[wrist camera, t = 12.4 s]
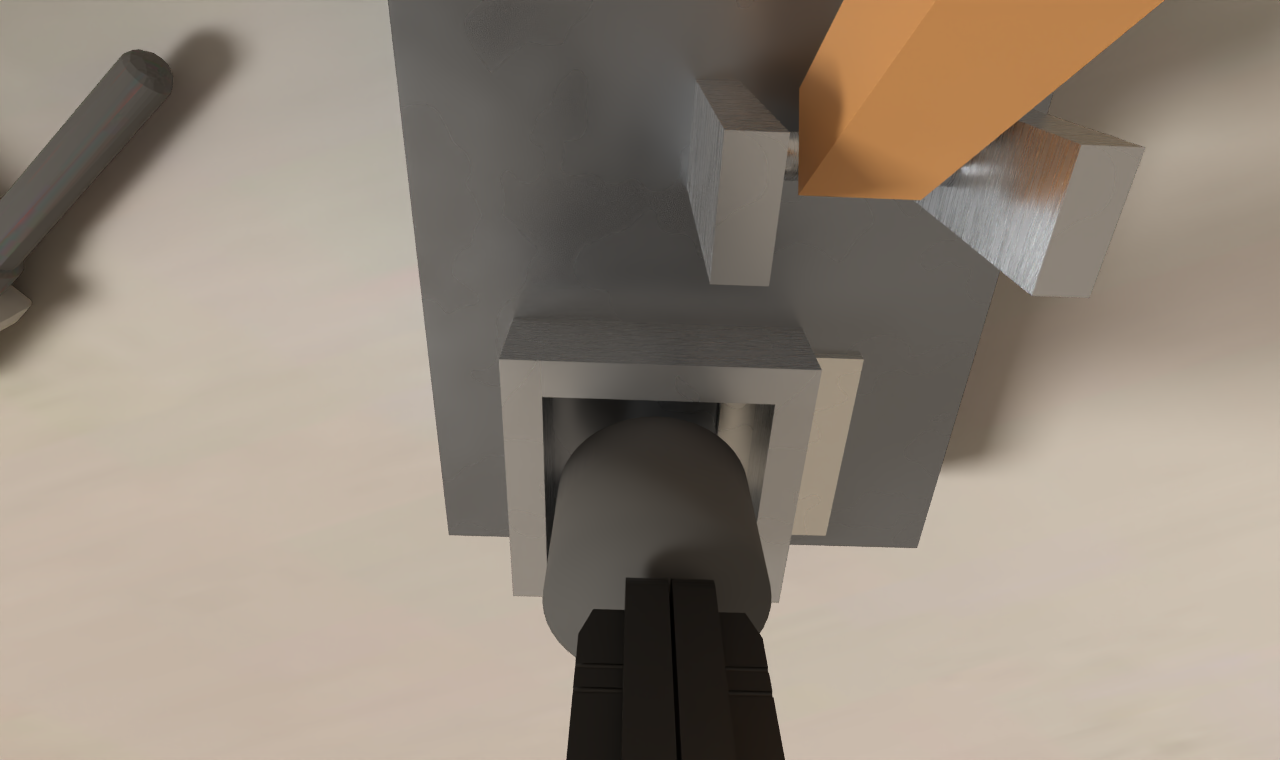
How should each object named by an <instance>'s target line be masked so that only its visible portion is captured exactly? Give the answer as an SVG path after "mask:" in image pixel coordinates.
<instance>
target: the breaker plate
mask: <svg viewBox="0 0 1280 760" xmlns="http://www.w3.org/2000/svg"><path fill="white" fill-rule="evenodd" d="M842 2H843V0H388V6H389V14H390V23H391V32H392V41H393V49H394V58H395V67H396V76H397V84H398V93H399V102H400V111H401V119H402V128H403V137H404V146H405V154H406V163H407V172H408V181H409V189H410V198H411V207H412V216H413V224H414V233H415V242H416V251H417V260H418V268H419V277H420V286H421V295H422V303H423V312H424V321H425V330H426V338H427V347H428V356H429V365H430V373H431V382H432V391H433V400H434V408H435V417H436V426H437V435H438V443H439V452H440V461H441V470H442V478H443V487H444V496H445V505H446V513H447V522H448V531H449V535H463V536H499V537H510V551H511V567H512V583H513V596H535V597H543V588H544V581H545V575H546V568H547V561H548V555H549V548H550V541H551V535H552V528H553V521H554V515H555V508H556V501H557V495H558V488H559V482H560V478H561V474H562V471H563V469H564V467H565V464H566V463H567V461H568V459H569V458H570V456H571V455H572V453H573V452H574V451H575V450H576V448H577V447H578V446H579V445H580V444H581V443H583V442H584V441H585V440H586V439H587V438H588V437H590V436H591V435H593V434H594V433H596V432H597V431H599V430H601V429H603V428H605V427H607V426H609V425H612V424H614V423H617V422H620V421H624V420H628V419H632V418H639V417H651V416H660V417H672V418H677V419H681V420H686V421H689V422H692V423H695V424H697V425H700V426H702V427H704V428H706V429H708V430H710V431H711V432H713V433H714V434H716V435H717V436H719V437H720V438H721V439H722V440H724V441H725V442H726V443H727V444H728V445H729V446H730V447H731V448H732V450H733V451H734V452H735V453H736V455H737V456H738V458H739V459H740V461H741V463H742V465H743V468H744V470H745V473H746V477H747V481H748V486H749V490H750V495H751V499H752V504H753V508H754V513H755V517H756V522H757V526H758V531H759V535H760V540H761V544H762V549H763V553H764V558H765V562H766V567H767V572H768V576H769V581H770V585H771V595H772V598H771V603H779V599H780V593H781V588H782V583H783V577H784V572H785V567H786V561H787V556H788V550H789V545H825V546H861V547H898V548H917V546H918V543H919V540H920V536H921V533H922V530H923V526H924V523H925V520H926V516H927V513H928V510H929V506H930V503H931V500H932V496H933V493H934V490H935V486H936V483H937V480H938V476H939V473H940V470H941V466H942V463H943V460H944V456H945V453H946V450H947V446H948V443H949V440H950V436H951V433H952V430H953V426H954V423H955V420H956V416H957V413H958V409H959V406H960V403H961V399H962V396H963V393H964V389H965V386H966V383H967V379H968V376H969V373H970V369H971V366H972V363H973V359H974V356H975V353H976V349H977V346H978V343H979V339H980V336H981V333H982V329H983V326H984V323H985V319H986V316H987V313H988V309H989V306H990V303H991V299H992V296H993V293H994V289H995V286H996V283H997V279H998V276H999V273H1000V271H1002V272H1003V273H1004V274H1005V275H1007V276H1008V277H1009V278H1010V279H1011V280H1013V281H1014V282H1015V283H1016V284H1018V285H1019V286H1020V287H1021V288H1023V289H1024V290H1025V291H1026V292H1027V293H1029V294H1030V295H1031V296H1047V297H1074V298H1090V295H1091V293H1092V290H1093V287H1094V284H1095V282H1096V279H1097V276H1098V274H1099V271H1100V268H1101V266H1102V263H1103V260H1104V257H1105V255H1106V252H1107V249H1108V247H1109V244H1110V241H1111V239H1112V236H1113V233H1114V230H1115V228H1116V225H1117V222H1118V220H1119V217H1120V214H1121V212H1122V209H1123V206H1124V203H1125V201H1126V198H1127V195H1128V193H1129V190H1130V187H1131V185H1132V182H1133V179H1134V176H1135V174H1136V171H1137V168H1138V166H1139V163H1140V160H1141V158H1142V155H1143V152H1144V149H1145V147H1142V146H1139V145H1137V144H1134V143H1131V142H1128V141H1125V140H1122V139H1119V138H1116V137H1113V136H1110V135H1107V134H1104V133H1101V132H1098V131H1095V130H1092V129H1089V128H1086V127H1084V126H1081V125H1078V124H1075V123H1072V122H1069V121H1066V120H1063V119H1060V118H1057V117H1054V116H1051V115H1048V114H1047V112H1048V109H1049V106H1050V102H1051V99H1052V96H1053V92H1054V91H1053V92H1052V93H1051V94H1050V95H1048V96H1047V97H1046V98H1045V99H1044V100H1042V101H1041V102H1040V103H1039V104H1037V105H1036V106H1035V107H1034V108H1033V109H1031V110H1030V111H1029V112H1028V113H1027V114H1025V115H1024V116H1023V117H1022V118H1020V119H1019V120H1018V121H1017V122H1016V123H1014V124H1013V125H1012V126H1011V127H1009V128H1008V129H1007V130H1006V131H1005V132H1003V133H1002V134H1001V135H1000V136H998V137H997V138H996V139H995V140H994V141H992V142H991V143H990V144H989V145H988V146H986V147H985V148H984V149H983V150H981V151H980V152H979V153H978V154H977V155H975V156H974V157H973V158H972V159H970V160H969V161H968V162H967V163H966V164H964V165H963V166H962V167H961V168H960V169H958V170H957V171H956V172H955V173H953V174H952V175H951V176H950V177H949V178H947V179H946V180H945V181H944V182H942V183H941V184H940V185H939V186H938V187H936V188H935V189H934V190H933V191H931V192H930V193H929V194H928V195H927V196H925V197H924V198H923V199H922V200H902V199H877V198H852V197H827V196H802V195H798V167H799V88H800V86H801V84H802V82H803V80H804V78H805V76H806V74H807V72H808V70H809V68H810V66H811V64H812V62H813V60H814V58H815V56H816V54H817V52H818V50H819V48H820V46H821V44H822V42H823V40H824V38H825V36H826V34H827V32H828V30H829V28H830V26H831V24H832V22H833V20H834V18H835V16H836V14H837V12H838V10H839V8H840V6H841V4H842Z"/></svg>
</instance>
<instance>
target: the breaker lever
mask: <svg viewBox="0 0 1280 760" xmlns="http://www.w3.org/2000/svg"><path fill="white" fill-rule="evenodd" d="M1163 1H1164V0H843V2H842V4H841V6H840V8H839V10H838V12H837V14H836V16H835V18H834V20H833V22H832V24H831V26H830V28H829V30H828V32H827V34H826V36H825V38H824V40H823V42H822V44H821V46H820V48H819V50H818V52H817V54H816V56H815V58H814V60H813V62H812V64H811V66H810V68H809V70H808V72H807V74H806V76H805V78H804V80H803V82H802V84H801V86H800V88H799V167H798V195H802V196H827V197H852V198H877V199H902V200H922V199H923V198H924V197H925V196H927V195H928V194H929V193H930V192H931V191H933V190H934V189H935V188H936V187H938V186H939V185H940V184H941V183H942V182H944V181H945V180H946V179H947V178H949V177H950V176H951V175H952V174H953V173H955V172H956V171H957V170H958V169H960V168H961V167H962V166H963V165H964V164H966V163H967V162H968V161H969V160H970V159H972V158H973V157H974V156H975V155H977V154H978V153H979V152H980V151H981V150H983V149H984V148H985V147H986V146H988V145H989V144H990V143H991V142H992V141H994V140H995V139H996V138H997V137H998V136H1000V135H1001V134H1002V133H1003V132H1005V131H1006V130H1007V129H1008V128H1009V127H1011V126H1012V125H1013V124H1014V123H1016V122H1017V121H1018V120H1019V119H1020V118H1022V117H1023V116H1024V115H1025V114H1027V113H1028V112H1029V111H1030V110H1031V109H1033V108H1034V107H1035V106H1036V105H1037V104H1039V103H1040V102H1041V101H1042V100H1044V99H1045V98H1046V97H1047V96H1048V95H1050V94H1051V93H1052V92H1053V91H1055V90H1056V89H1057V88H1058V87H1059V86H1061V85H1062V84H1063V83H1064V82H1065V81H1067V80H1068V79H1069V78H1070V77H1072V76H1073V75H1074V74H1075V73H1076V72H1078V71H1079V70H1080V69H1081V68H1083V67H1084V66H1085V65H1086V64H1087V63H1089V62H1090V61H1091V60H1092V59H1094V58H1095V57H1096V56H1097V55H1098V54H1100V53H1101V52H1102V51H1103V50H1104V49H1106V48H1107V47H1108V46H1109V45H1111V44H1112V43H1113V42H1114V41H1115V40H1117V39H1118V38H1119V37H1120V36H1122V35H1123V34H1124V33H1125V32H1126V31H1128V30H1129V29H1130V28H1131V27H1132V26H1134V25H1135V24H1136V23H1137V22H1139V21H1140V20H1141V19H1142V18H1143V17H1145V16H1146V15H1147V14H1148V13H1150V12H1151V11H1152V10H1153V9H1154V8H1156V7H1157V6H1158V5H1159V4H1161V3H1162V2H1163Z"/></svg>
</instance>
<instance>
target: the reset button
mask: <svg viewBox="0 0 1280 760" xmlns="http://www.w3.org/2000/svg"><path fill="white" fill-rule="evenodd" d="M626 577H629V578H664V579H668V584H669V590H670V581H671V578H672V579H707V580H714V582H715V587H716V595H717V603H718V611H719V612H729V613H746V615H747V616H748V618H749V619H750V621H751V622H752V624H753V625H754V626H755V628H756V629H757V631H758V632H759V633H760V632H761V630H762V629H763V627H764V625H765V623H766V621H767V618H768V615H769V612H770V608H771V598H772V595H771V585H770V581H769V576H768V572H767V567H766V562H765V558H764V553H763V549H762V544H761V540H760V535H759V531H758V526H757V522H756V517H755V513H754V508H753V504H752V499H751V495H750V490H749V486H748V481H747V477H746V473H745V470H744V468H743V465H742V463H741V461H740V459H739V458H738V456H737V455H736V453H735V452H734V451H733V450H732V448H731V447H730V446H729V445H728V444H727V443H726V442H725V441H724V440H722V439H721V438H720V437H719V436H717V435H716V434H714V433H713V432H711V431H710V430H708V429H706V428H704V427H702V426H700V425H697V424H695V423H692V422H689V421H686V420H681V419H677V418H672V417H660V416H651V417H639V418H632V419H628V420H624V421H620V422H617V423H614V424H612V425H609V426H607V427H605V428H603V429H601V430H599V431H597V432H596V433H594V434H593V435H591V436H590V437H588V438H587V439H586V440H585V441H584V442H583V443H581V444H580V445H579V446H578V447H577V448H576V450H575V451H574V452H573V453H572V455H571V456H570V458H569V459H568V461H567V463H566V464H565V467H564V469H563V471H562V474H561V478H560V482H559V488H558V495H557V501H556V508H555V515H554V521H553V528H552V535H551V541H550V548H549V555H548V561H547V568H546V575H545V581H544V588H543V609H544V614H545V618H546V621H547V623H548V625H549V627H550V629H551V631H552V633H553V634H554V636H555V637H556V639H557V640H558V641H559V643H560V644H561V645H562V646H563V647H564V648H565V649H566V650H567V651H568V652H570V653H571V654H572V655H573V656H575V657H576V652H577V642H578V633H579V632H580V630H581V628H582V627H583V625H584V623H585V622H586V620H587V618H588V617H589V615H590V613H591V612H592V610H593V609H612V610H624V604H625V580H626Z"/></svg>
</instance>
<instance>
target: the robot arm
mask: <svg viewBox="0 0 1280 760" xmlns="http://www.w3.org/2000/svg"><path fill="white" fill-rule="evenodd" d="M566 760H785V757H784V752H783V747H782V741H781V736H780V730H779V725H778V720H777V714H776V709H775V703H774V698H773V697H772V687H771V682H770V676H769V673H768V665H767V660H766V655H765V649H764V644H763V638H762V637H761V635H760V634H759V632H758V631H757V629H756V628H755V626H754V625H753V624H752V622H751V621H750V619H749V618H748V616H747V615H746V613H729V612H719V611H718V603H717V595H716V587H715V582H714V580H707V579H672V578H671V581H670V590H669V584H668V579H664V578H629V577H626V580H625V604H624V610H612V609H593V610H592V612H591V613H590V615H589V617H588V618H587V620H586V622H585V623H584V625H583V627H582V628H581V630H580V632H579V633H578V642H577V652H576V665H575V674H574V684H573V695H572V706H571V717H570V727H569V738H568V749H567V759H566Z"/></svg>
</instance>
